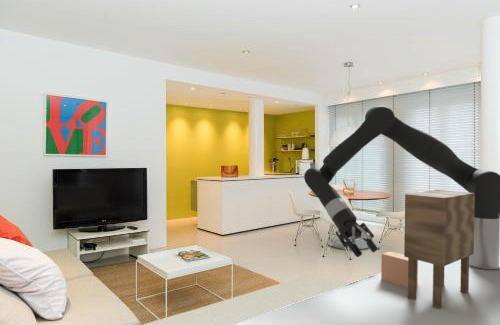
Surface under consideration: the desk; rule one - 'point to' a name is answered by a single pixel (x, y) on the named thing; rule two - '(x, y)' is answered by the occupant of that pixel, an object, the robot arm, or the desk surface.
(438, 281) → the walnut cabinet
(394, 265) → the terracotta block
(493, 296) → the desk surface
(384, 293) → the desk surface
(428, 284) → the desk surface
